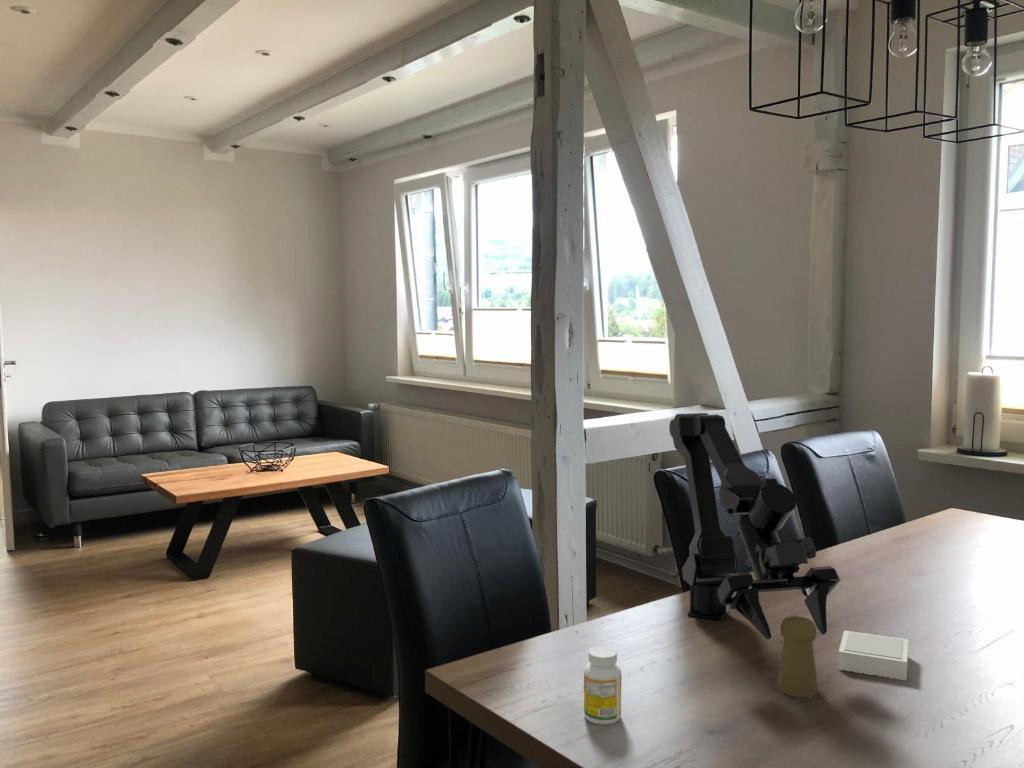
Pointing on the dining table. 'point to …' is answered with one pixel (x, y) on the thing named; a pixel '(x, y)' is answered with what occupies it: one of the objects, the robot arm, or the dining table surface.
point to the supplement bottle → (602, 687)
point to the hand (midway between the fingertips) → (797, 635)
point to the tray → (873, 655)
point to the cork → (798, 658)
